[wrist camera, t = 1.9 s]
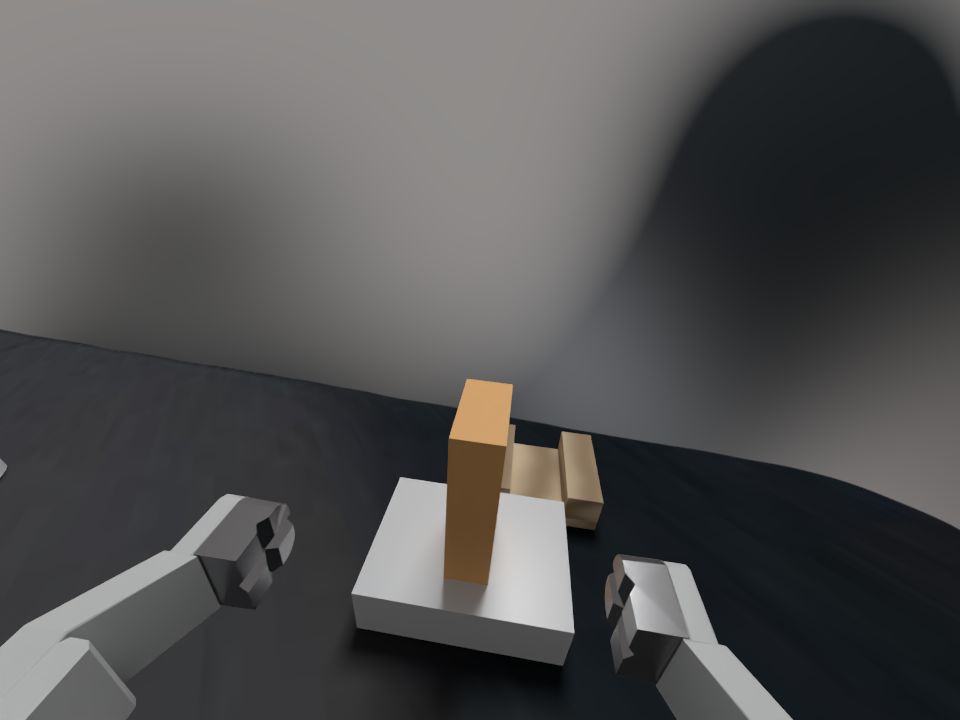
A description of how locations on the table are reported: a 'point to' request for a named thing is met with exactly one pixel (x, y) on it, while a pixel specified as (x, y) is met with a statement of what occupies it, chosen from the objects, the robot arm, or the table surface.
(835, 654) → the table surface
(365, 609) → the block
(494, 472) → the orange rectangular block
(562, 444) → the rack
